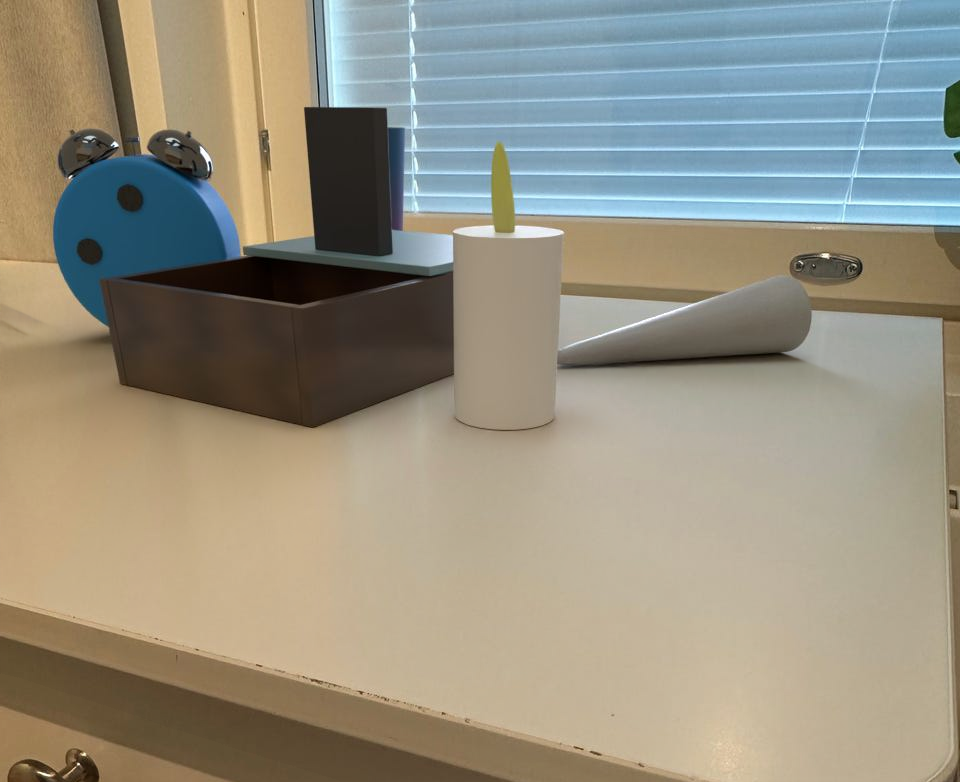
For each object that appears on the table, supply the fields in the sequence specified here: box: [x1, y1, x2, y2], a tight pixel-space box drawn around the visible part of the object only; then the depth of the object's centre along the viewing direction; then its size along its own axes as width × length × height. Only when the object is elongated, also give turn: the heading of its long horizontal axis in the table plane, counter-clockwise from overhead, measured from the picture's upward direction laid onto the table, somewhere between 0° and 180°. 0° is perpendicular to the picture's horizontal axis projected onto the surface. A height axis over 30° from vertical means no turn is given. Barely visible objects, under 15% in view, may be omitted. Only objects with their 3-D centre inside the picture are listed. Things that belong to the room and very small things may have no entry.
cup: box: [388, 126, 406, 231], centre depth 84 cm, size 7×7×15 cm
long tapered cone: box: [557, 274, 813, 367], centre depth 66 cm, size 6×6×19 cm
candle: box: [452, 140, 565, 431], centre depth 52 cm, size 6×6×15 cm
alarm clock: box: [52, 128, 242, 328], centre depth 70 cm, size 13×6×15 cm, turn 92°
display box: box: [99, 255, 454, 428], centre depth 66 cm, size 18×29×7 cm, turn 148°
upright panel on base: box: [242, 106, 453, 276], centre depth 66 cm, size 17×15×10 cm
